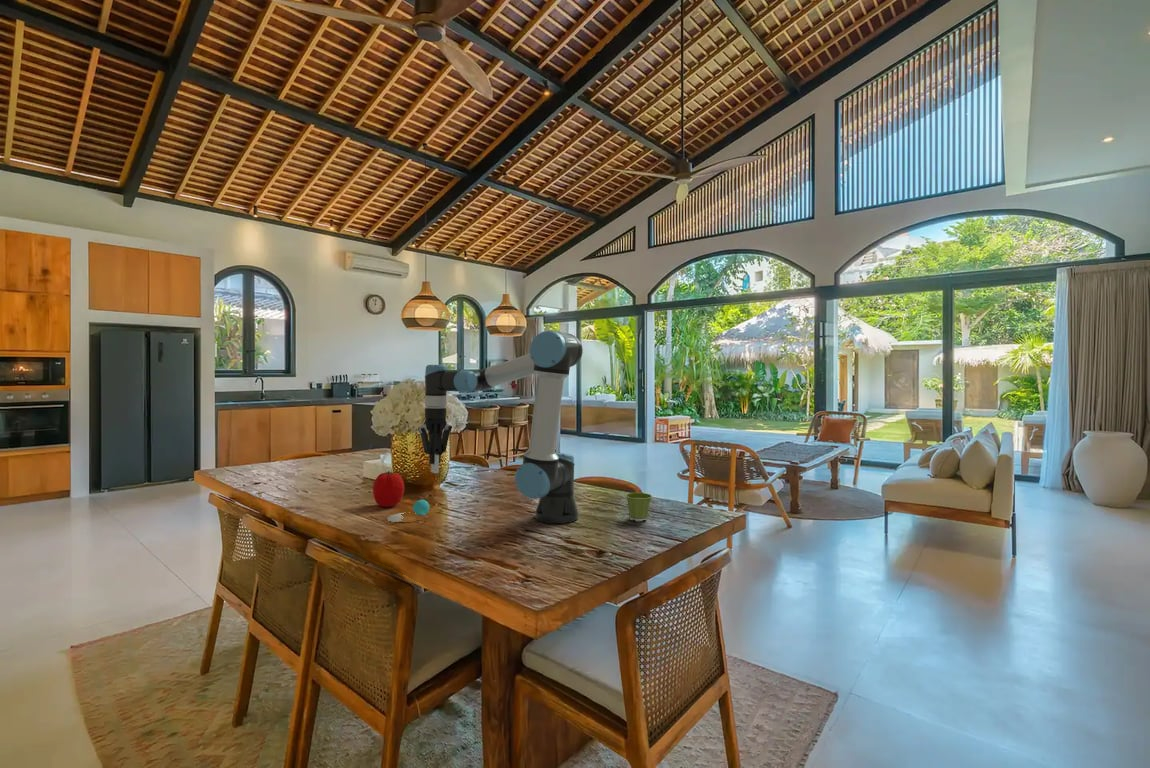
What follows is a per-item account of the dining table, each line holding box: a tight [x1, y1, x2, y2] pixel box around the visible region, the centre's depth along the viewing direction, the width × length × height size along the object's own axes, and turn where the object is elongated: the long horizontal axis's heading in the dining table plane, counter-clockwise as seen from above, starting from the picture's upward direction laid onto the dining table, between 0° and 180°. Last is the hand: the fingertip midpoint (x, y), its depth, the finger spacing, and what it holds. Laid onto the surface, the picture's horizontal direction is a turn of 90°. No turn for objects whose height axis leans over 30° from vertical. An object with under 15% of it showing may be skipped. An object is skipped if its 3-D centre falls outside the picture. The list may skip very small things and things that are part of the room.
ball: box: [412, 499, 430, 516], centre depth 188 cm, size 6×6×6 cm
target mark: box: [386, 511, 411, 523], centre depth 184 cm, size 13×13×1 cm
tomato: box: [372, 470, 406, 508], centre depth 200 cm, size 12×12×13 cm
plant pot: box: [624, 492, 653, 519], centre depth 186 cm, size 9×9×9 cm
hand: (434, 472), depth 192 cm, fingers closed
